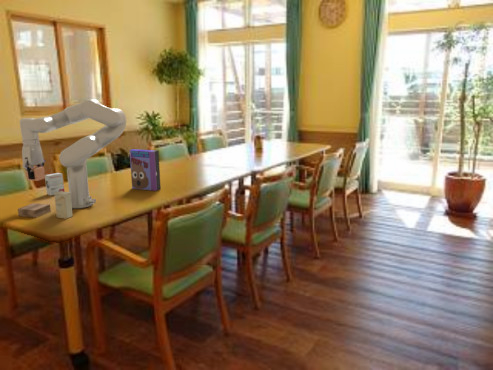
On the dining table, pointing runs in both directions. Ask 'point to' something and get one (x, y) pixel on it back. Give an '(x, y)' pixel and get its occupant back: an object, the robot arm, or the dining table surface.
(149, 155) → the cereal box
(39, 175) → the terracotta cube
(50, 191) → the ink box
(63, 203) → the skincare box
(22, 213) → the walnut block
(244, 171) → the dining table surface
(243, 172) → the dining table surface
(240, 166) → the dining table surface
